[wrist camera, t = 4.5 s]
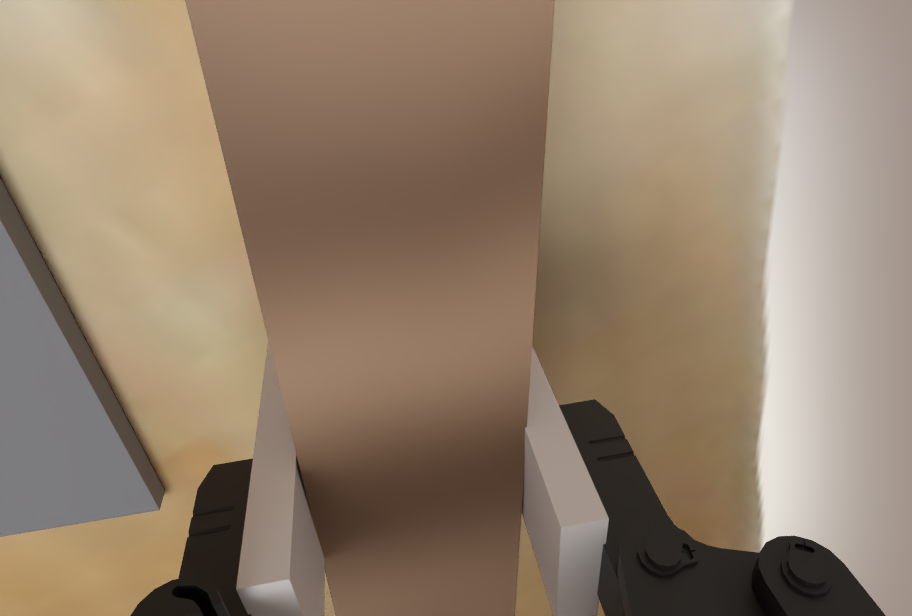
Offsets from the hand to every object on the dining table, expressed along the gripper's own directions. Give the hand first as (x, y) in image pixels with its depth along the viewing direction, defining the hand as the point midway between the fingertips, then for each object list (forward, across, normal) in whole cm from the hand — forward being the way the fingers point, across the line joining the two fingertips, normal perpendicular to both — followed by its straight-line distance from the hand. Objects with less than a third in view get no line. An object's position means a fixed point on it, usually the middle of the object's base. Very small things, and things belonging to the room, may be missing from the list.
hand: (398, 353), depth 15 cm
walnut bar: (+1, 0, 0) cm, 1 cm away
